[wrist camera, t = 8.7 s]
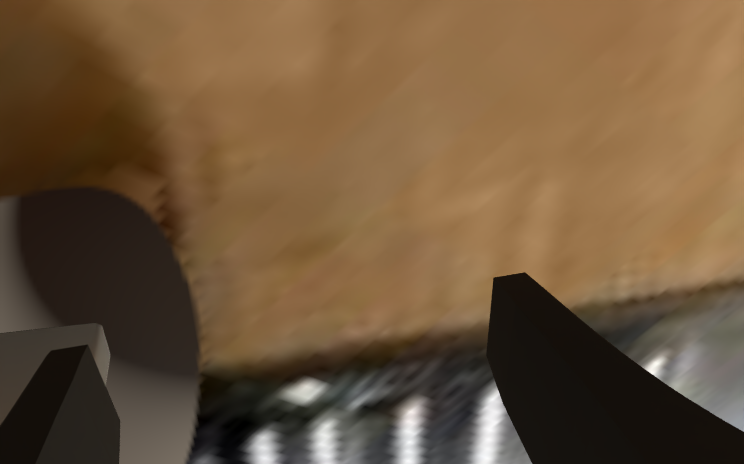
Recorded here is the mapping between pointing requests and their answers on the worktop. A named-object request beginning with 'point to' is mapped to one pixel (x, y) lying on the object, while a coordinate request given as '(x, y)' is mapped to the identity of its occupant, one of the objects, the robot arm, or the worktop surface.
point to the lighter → (43, 355)
